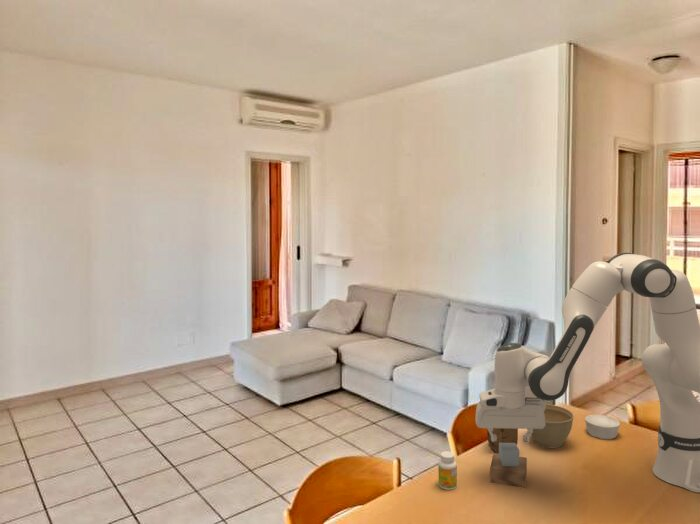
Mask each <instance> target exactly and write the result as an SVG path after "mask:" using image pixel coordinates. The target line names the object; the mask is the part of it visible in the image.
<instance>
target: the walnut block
mask: <svg viewBox="0 0 700 524" xmlns="http://www.w3.org/2000/svg"><path fill="white" fill-rule="evenodd" d="M527 462H528V458H527V457H523V456H519V466H502V464H501V462H500V460H499V453H497V452H493V453H492V458H491V461H490V467H489V483H491V484H497V485H502V486H508V487H515V488H520V489H526V483H527V473H528V472H527V470H528V468H527V467H528V466H527V465H528V463H527Z"/></svg>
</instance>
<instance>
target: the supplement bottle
mask: <svg viewBox="0 0 700 524" xmlns="http://www.w3.org/2000/svg"><path fill="white" fill-rule="evenodd" d="M456 461H457V460H455V453H454V452H452V451H450V450H449V451H446V450H444V451H442V452H441V453H440V459H439V460H438V462H437V463H438V464H437V465H438V468H437V469H438V486H439V487H440V488H441V489H442V490H447V491H449V490H450V491H451V490H455V489H456V488H457V486H458V478H457V477H458V472H457V471H458V470H457V469H458V464H457V462H456Z"/></svg>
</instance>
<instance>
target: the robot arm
mask: <svg viewBox="0 0 700 524" xmlns="http://www.w3.org/2000/svg"><path fill="white" fill-rule="evenodd" d="M608 259H609V260H606V261H600V260H599V261H593V262H592V263H591V264H589V265H588V266H587V267H586V268H585V269H584V271H583V272H582V273H581V274H580V275H579V276H578V277H577V279H576V280H575V282H574V283H573V284H572V286H571V287H570V288H569V290H568V292H567V293H566V295H565V298H564V300H563V302H562V305H561V314H562V317H563V325H564V326H563V332H562V334H561V337H560V339H559V341H558V342H557V344H556V345H555V348H554V350H553V352H552V353H550V354H551V355H550V356H548V355H546V354H544V353H540V352H537V351H533V350H531V349H528V348H526V347H525V346H523V345H522V344H521V343H517V342H509V343H508V342H507V343H504V344H502V345H500V346H499V347H498V348H497V349H496V351H495V355H494V376H495V382H494V387H493V388H491V389H488V390H485V391H482V392H480V393H479V397H478V398H479V401H478V403H477V405H476V409H475V424H476V426H477V427H478V428H479V429H487V430H488V431H489V433H490V435H491V440H492V442H497V436H496V434H493V433H492V431H493V428H512V429H518V430H521V429H524V430H525V429H526V430H527V431H526V433H525V434H522V441H523V443H530V437H532V436H531V434H532V433H533V429H543V428H544V427H545V415H544V411H545V408H546V401H555V400H558V399H559V398H561V397H562V396H564V395H565V393H566V392H567V390H568V386H569V382H570V381H569V380H570V377H571V376H570V375H571V373H572V370H573V368H574V366H575V364H576V362H577V361H578V359H579V357H580V356H581V355H582V352H583V350H584V348H585V347H586V345H587V343H588V342H589V339H590V337H591V335H592V333H593V331H594V329H595V328H596V326H597V324H598V323H599V321H600V320H601V318H602V316H603V315H604V313H605V312H606V311H607V309H608V308H609V306H610V304H611V303H612V301H613V300H614V298H615V297H616V295H618V294H619V293H621V292H622V291H623V292H624V291H626V292H629V293H632V294H636V295H639V296H641V297H645V298H649V301H650V302H649V303H650V307H651V313H652V318H653V325H654V329H655V333H656V335H657V337H659V339H660V340H661V341H663V343H664V344H663V343H662V344H661V343H654V344H651V345H650V344H649V346H647V347H646V348H645V349H644V351H643V353H642V355H641V364H642V367H643V369H644V371H646V372H647V374H648V375H649V376H650V378H651V381H652V382H653V384H654V387H655V389H656V392H657V395H658V396H657V397H658V399H659V410H660V411H659V412H660V413H659V414H660V416H659V417H660V419H659V421H660V422H659V423H660V424H659V426H658V431H657V432H658V433H657V445H658V446H657V449H658V450H657V454H656V458H655V461H654V464H653V466H652V469H651V471H652V473H653V474H654V475H655V476H656V477H657V478H659V479H660V480H662V481H663V482H666V483H668V484H671V485H673V486H676V487H677V486H678V487H681V488H684V489H687V491H691V492H693V493H700V401H699V400H698V398H696V396H695V394H694V393H693V392H696V393H698V394H700V321H699V315H698V310H697V304H696V299H695V295H694V292H693V289H692V286H691V284H690V282H689V279H688V277H687V275H686V274H685V273H684V272H682V271H680V270H678V269H672V268H670V267H669V266H668V265H667V264H665V263H664V262H662V261H661V260H658V259H654V258H653V257H649V256H648V255H643V254H635V253H632V252H622V253H617V254H615V255H613V256H611V257H610V258H608ZM528 386H529V388H530V391H531V393H532V394H533V395H534V396H535V397H531V396H526V387H528Z"/></svg>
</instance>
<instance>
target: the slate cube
mask: <svg viewBox="0 0 700 524" xmlns="http://www.w3.org/2000/svg"><path fill="white" fill-rule="evenodd" d="M498 454H499V460H500V462H501V464H502V466H519V457H520V449H519V447H518V444H517V445H516V443H499V453H498Z"/></svg>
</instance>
